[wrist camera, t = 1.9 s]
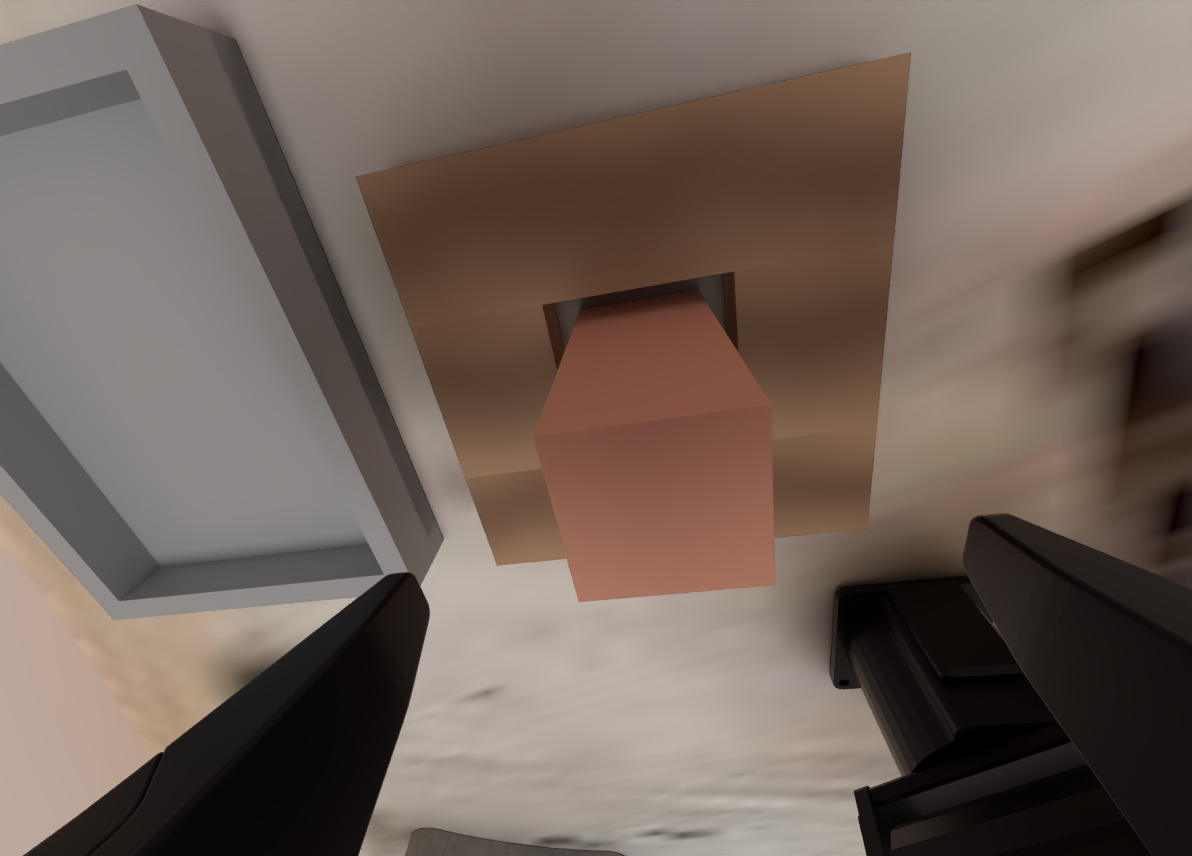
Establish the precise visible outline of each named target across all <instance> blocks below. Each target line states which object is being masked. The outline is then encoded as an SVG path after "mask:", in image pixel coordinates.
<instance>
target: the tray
mask: <svg viewBox="0 0 1192 856" xmlns="http://www.w3.org/2000/svg"><path fill="white" fill-rule="evenodd" d="M0 494H1V495H2V496H3V498H4V499H5V500H6V501H7V502H8V503H9V504H10V505H11V506H12V507H13V509H14V510H15V511H16V512H17V513H18V514H19V515H20V516H21V517H22V519H23V520H24V521H25V522H26V523H27V524H28V525H29V526H30V527H31V529H32V530H33V531H34V532H35V533H36V534H37V535H38V536H39V537H40V539H41V540H42V541H43V542H44V543H45V544H46V545H47V546H48V547H49V549H50V550H51V551H52V552H53V553H54V554H55V555H56V556H57V557H58V559H59V560H60V561H61V562H62V563H63V564H64V565H65V566H66V567H67V568H68V570H69V571H70V572H71V573H72V574H73V575H74V576H75V577H76V578H77V580H78V581H79V582H80V583H81V584H82V585H83V586H84V587H85V588H86V590H87V591H88V592H89V593H90V594H91V595H92V596H93V597H94V598H95V600H96V601H97V602H98V603H99V604H100V605H101V606H102V607H103V608H104V610H105V611H106V612H107V613H108V614H109V615H110V616H111V617H112V618H113V620H119V619H129V618H140V617H150V616H161V615H172V614H182V613H193V612H203V611H214V610H225V609H235V608H246V607H256V606H267V605H277V604H288V603H299V602H309V601H320V600H330V599H341V598H351V597H359V596H361V595H362V594H363V593H364V592H366V591H367V590H368V589H369V588H371V587H372V586H373V585H375V584H376V583H377V582H378V581H380V580H381V579H382V578H384V577H385V576H386V575H388V574H392V573H402V572H410V573H412V574H414V575H415V577H416V579H417V581H418V583H419V585H421V583H422V582H423V580H424V578H425V576H426V574H427V572H428V570H429V568H430V566H431V564H432V562H433V560H434V558H435V556H436V554H437V552H438V550H439V548H440V546H441V544H442V542H443V540H444V539H443V537H442V535H441V532H440V530H439V527H438V525H437V523H436V520H435V518H434V515H433V513H432V511H431V508H430V506H429V503H428V501H427V499H426V496H425V494H424V491H423V489H422V487H421V484H420V482H419V479H418V477H417V475H416V472H415V470H414V467H413V465H412V463H411V460H410V458H409V455H408V453H407V451H406V448H405V446H404V443H403V441H402V439H401V436H400V434H399V431H398V429H397V427H396V424H395V422H394V419H393V417H392V415H391V412H390V410H389V407H388V405H387V403H386V400H385V398H384V396H383V393H382V391H381V388H380V386H379V384H378V381H377V379H376V376H375V374H374V372H373V369H372V367H371V364H370V362H369V360H368V357H367V355H366V352H365V350H364V348H363V345H362V343H361V340H360V338H359V336H358V333H357V331H356V328H355V326H354V324H353V321H352V319H351V316H350V314H349V312H348V309H347V307H346V304H345V302H344V300H343V297H342V295H341V292H340V290H339V288H338V285H337V283H336V280H335V278H334V276H333V273H332V271H331V268H330V266H329V264H328V261H327V259H326V257H325V254H324V252H323V249H322V247H321V245H320V242H319V240H318V237H317V235H316V233H315V230H314V228H313V225H312V223H311V221H310V218H309V216H308V213H307V211H306V209H305V206H304V204H303V201H302V199H301V197H300V194H299V192H298V189H297V187H296V185H295V182H294V180H293V177H292V175H291V173H290V170H289V168H288V165H287V163H286V161H285V158H284V156H283V153H282V151H281V149H280V146H279V144H278V141H277V139H276V137H275V134H274V132H273V129H272V127H271V125H270V122H269V120H268V117H267V115H266V113H265V110H264V108H263V106H262V103H261V101H260V98H259V96H258V94H257V91H256V89H255V86H254V84H253V82H252V79H251V77H250V74H249V72H248V70H247V67H246V65H245V62H244V60H243V58H242V55H241V53H240V50H239V48H238V46H237V43H236V41H235V39H232V38H230V37H227V36H224V35H221V34H218V33H215V32H213V31H210V30H207V29H204V28H201V27H199V26H196V25H193V24H190V23H187V22H185V21H182V20H179V19H176V18H173V17H171V16H168V15H165V14H162V13H159V12H157V11H154V10H151V9H148V8H145V7H143V6H140V5H133V6H130V7H127V8H123V9H120V10H116V11H113V12H110V13H106V14H103V15H100V16H96V17H93V18H90V19H86V20H83V21H79V22H76V23H73V24H69V25H66V26H63V27H59V28H56V29H53V30H49V31H46V32H42V33H39V34H36V35H32V36H29V37H26V38H22V39H19V40H16V41H12V42H9V43H5V44H2V45H0Z"/></svg>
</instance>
